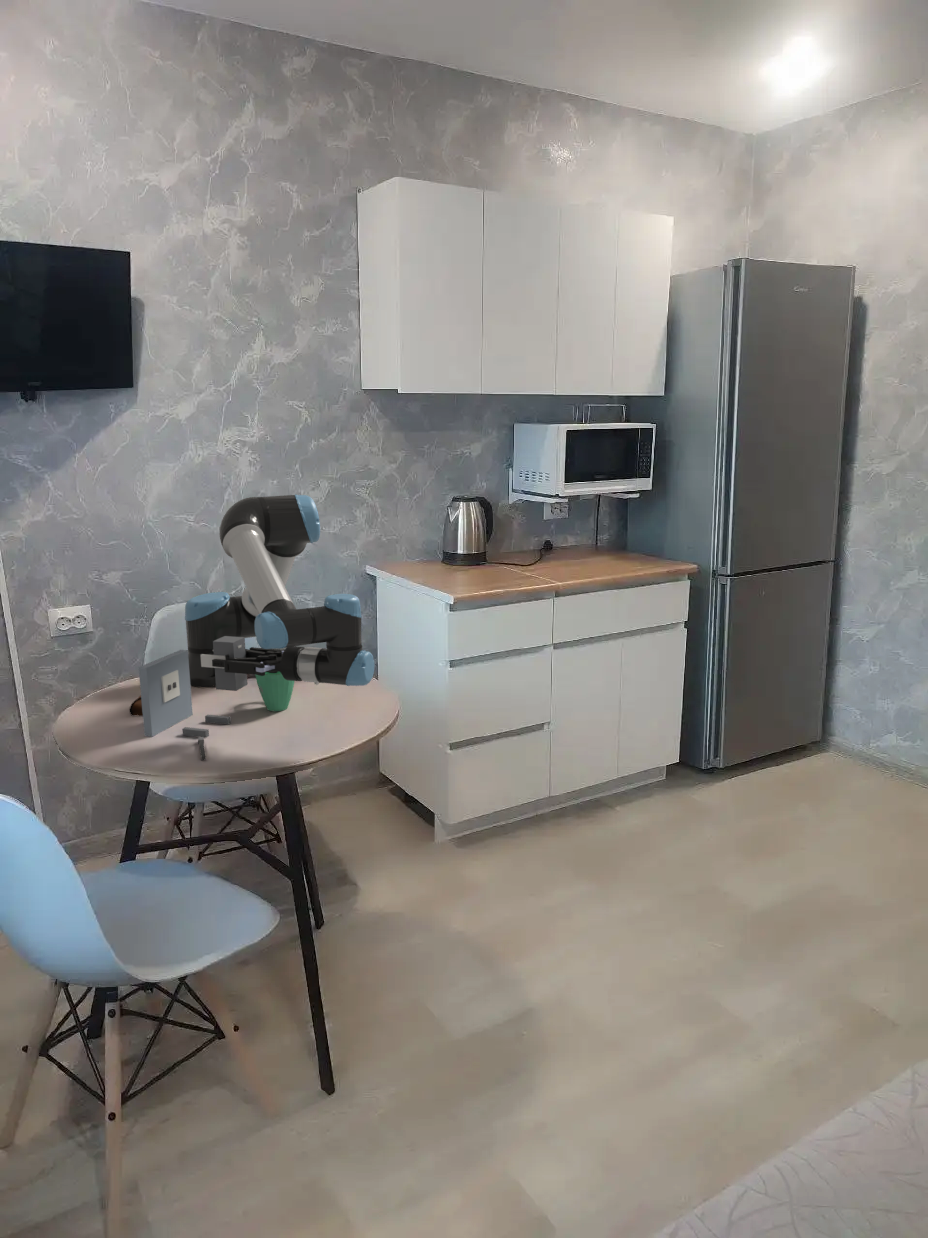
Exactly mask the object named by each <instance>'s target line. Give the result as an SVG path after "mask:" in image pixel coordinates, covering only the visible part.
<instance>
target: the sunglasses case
mask: <svg viewBox="0 0 928 1238" xmlns="http://www.w3.org/2000/svg"><path fill="white" fill-rule="evenodd" d="M129 714H130V715H131V716H132V715H139V717H140V716H142V717H143V712H142V701H141V695H139V696H138V698H136V699H135V700H134V701H132V703H131V705H130V706H129Z"/></svg>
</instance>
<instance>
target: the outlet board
mask: <svg viewBox="0 0 928 1238" xmlns="http://www.w3.org/2000/svg"><path fill="white" fill-rule="evenodd" d="M138 675H139V676H138V677H139V688H140V696H141V701H142V712H143V716H142V721H143V722H142V723H143V735H144V737H149V738H150V737H151V738H152V737H155V736H156V735H158V734H160V733H162V732H163V731H166V730H167V729H169V728H171V727H173V726H174V725H177V724H178V723H180V722H182V721H184V720H186V719H188V718H189V717H191V716H193V701H192V700H193V699H192V686H190V672H189V659H188V649H187V650H186V649H179V650H177V651H174V652H172V653H170V654H166V655H164V656H163V657H160V658H158V659H155V660H153V661H151V662H148V663H146V664H143V665H141V666H138ZM231 721H232V719H231V716H226V715H215V714H205V716H204V722H205V723H209V724H221V725H230V724H231ZM181 733H182V735H183V736H189V737H197V738H198V737H204V738H208V737H209V736H210V730H209V729H208V728H197V727H186V726H185V727H183V728H182V731H181Z"/></svg>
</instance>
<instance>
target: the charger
mask: <svg viewBox="0 0 928 1238" xmlns="http://www.w3.org/2000/svg"><path fill="white" fill-rule="evenodd" d="M245 649H246V638H245V637H231V636H224V637H221V638H219V639H217V640H215V641H213V651H214V655H221V656H225V655H228V654H229V658H246V651H245ZM215 680H216V686H215V690H220V691H221V690H222V691H233V692H238V691H239V690H241V689H242V688H244V687H246V686H248V674H242V673H229V672H228V673H227V672H225V671H224V669H223V668H215Z"/></svg>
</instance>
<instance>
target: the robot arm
mask: <svg viewBox="0 0 928 1238" xmlns="http://www.w3.org/2000/svg"><path fill="white" fill-rule="evenodd" d="M320 538H321V522H320V516H319V512H318V508H317V505H316V503H315V500H314V499H313V498H312V497H311V496H310V495H307V494H296V493H295V494H287V495H271V496H268V495H267V496H250V497H249V496H248V497H245V498H242V499H240V500H238V501H236V502H234V504H233V505H231V506H230V507H229V508H228V510H227V511H226V512H225V513H224V515H223V517H222V519H221V522H220V527H219V541H220V543H221V546H222V548H223V551H224V553H225V554H226V555H227V556H228V557H229V558H232V560H233V561H234V563H235V566H236V568H237V570H238V573H239V575H240V576H241V579H242V581H243V583H244V585H245V588H244V590H243V591H242V594H241V595H238V596H230V595H229V593H228V592H225V591H218V592H208V593H203V594H202V593H201V594H199V595H197V596H193V597H191V598H190V599H189V600H187V601H186V603H185V607H184V608H185V609H184V611H185V612H184V620H185V629H186V641H187V642H186V643H187V650H188V659H189V672H190V686H191V687H197V688H199V687H200V688H204V687H205V688H208V687H209V688H211V687H212V688H213V687H216V680H215V668H223V669H224V671H225V672H227V673H228V672H229V673H242V674H247V675H254V676H255V675H259V676H264V675H265V672H269V673H277V672H278V671H279V672H280V673H281V674H282V676H283V677H284V679H286V680H289V681H294V682H307V683H314V685H316V686H318V685H319V684H320V683H321V684H328V685H329V684H332V685H338V686H339V685H341V686H346V687H347V686H348V687H354V686H355V687H357V686H358V687H359V686H367V685H368V684H370V682H371V681H372V680H373V677H374V673H375V666H376V665H375V659H374V656H373V654H372V653H371V651H368V650H367V651H366V650H365V649H364V650H363V645H362V643H363V642H362V617H363V616H362V611H361V608H362V607H361V602H360V598H359V597H358V596H357V595H354V594H352V593H351V594H350V593H336V594H335V593H334V594H331V595H327V596H326V597H324V603H323V606H314V607H307V608H306V607H305V608H299V609H298V608H296V606H295V604H294V602H293V600H292V598H291V596H290V594H289V592H288V590H287V588H286V585H287V583H288V580H289V577H290V574H291V570H292V568H293V566H294V562H295V559H296V557H298V556H300V555H301V554H302V553H303V552H304V551H305V548H306V547H307V544H308V543H309V544H313V543H316V542H318V541H319V540H320ZM224 636H231V637H245V639H248V638H256V642H257V644H258V646H259V647H254V646H252V647H249V649H248V648H245V651H246V658H229V654H228V655H225V656H221V655H214V651H213V641H215V640H217V639H219V638H221V637H224ZM321 643H326V644H325V646H326V648H324V647H315V646H314V647H311V646H306V647H304V645H314V644H321Z"/></svg>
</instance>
